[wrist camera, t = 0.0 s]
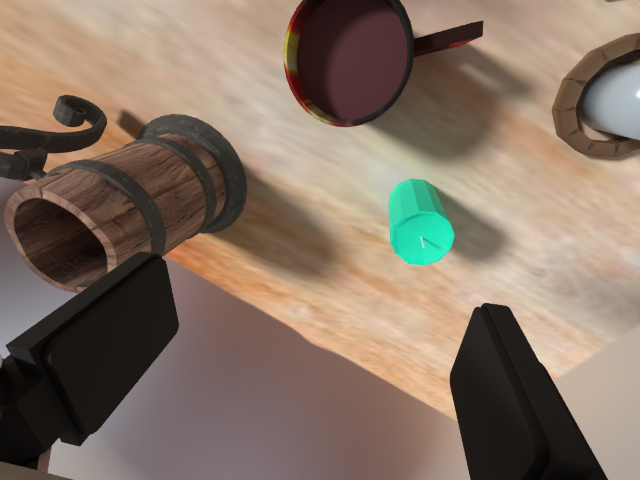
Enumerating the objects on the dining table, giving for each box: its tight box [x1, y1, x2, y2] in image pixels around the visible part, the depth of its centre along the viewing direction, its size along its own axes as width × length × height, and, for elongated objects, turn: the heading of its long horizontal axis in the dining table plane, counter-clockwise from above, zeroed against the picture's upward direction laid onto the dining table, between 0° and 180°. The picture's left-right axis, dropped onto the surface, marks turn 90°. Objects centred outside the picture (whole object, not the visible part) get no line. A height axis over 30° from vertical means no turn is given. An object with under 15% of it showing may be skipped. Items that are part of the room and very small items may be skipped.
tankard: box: [0, 95, 247, 293], centre depth 34 cm, size 24×17×20 cm
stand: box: [552, 33, 640, 157], centre depth 30 cm, size 10×10×2 cm
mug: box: [283, 0, 483, 127], centre depth 27 cm, size 10×14×12 cm
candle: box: [389, 179, 455, 265], centre depth 34 cm, size 6×6×12 cm
